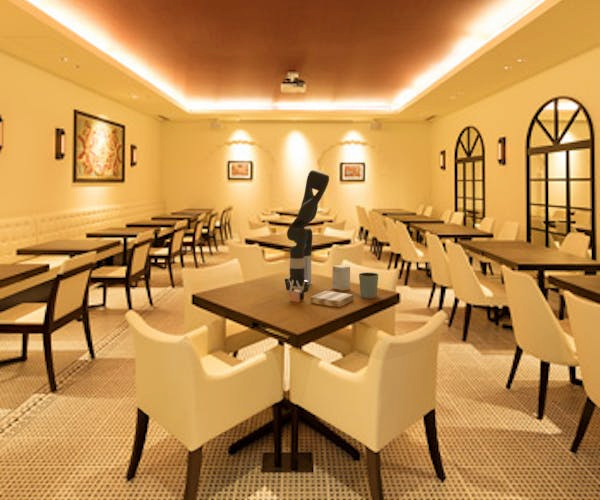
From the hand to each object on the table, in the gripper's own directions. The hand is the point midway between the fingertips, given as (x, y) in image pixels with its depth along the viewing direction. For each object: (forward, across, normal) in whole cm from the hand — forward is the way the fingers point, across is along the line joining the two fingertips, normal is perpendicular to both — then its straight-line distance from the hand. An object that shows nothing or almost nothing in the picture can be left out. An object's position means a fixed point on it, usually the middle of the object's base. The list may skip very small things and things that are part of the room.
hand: (296, 299), depth 237 cm
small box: (+1, +7, +36) cm, 37 cm away
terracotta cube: (+1, 0, 0) cm, 1 cm away
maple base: (+1, +16, +8) cm, 18 cm away
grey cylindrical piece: (+1, +27, +28) cm, 39 cm away
